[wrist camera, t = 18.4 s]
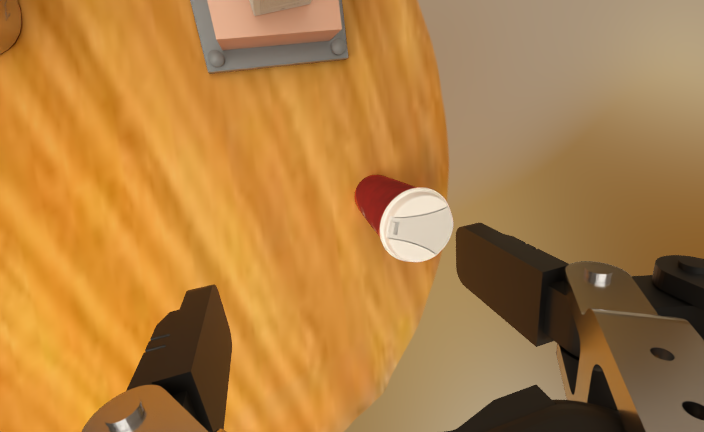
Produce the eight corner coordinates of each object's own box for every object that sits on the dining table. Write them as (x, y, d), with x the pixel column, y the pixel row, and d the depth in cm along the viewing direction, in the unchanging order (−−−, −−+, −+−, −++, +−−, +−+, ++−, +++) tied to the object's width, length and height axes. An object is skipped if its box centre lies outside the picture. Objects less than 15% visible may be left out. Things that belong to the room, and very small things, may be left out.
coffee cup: (342, 220, 47) (378, 266, 33) (351, 163, 45) (392, 186, 31) (396, 223, 50) (449, 267, 36) (406, 169, 47) (467, 194, 34)
